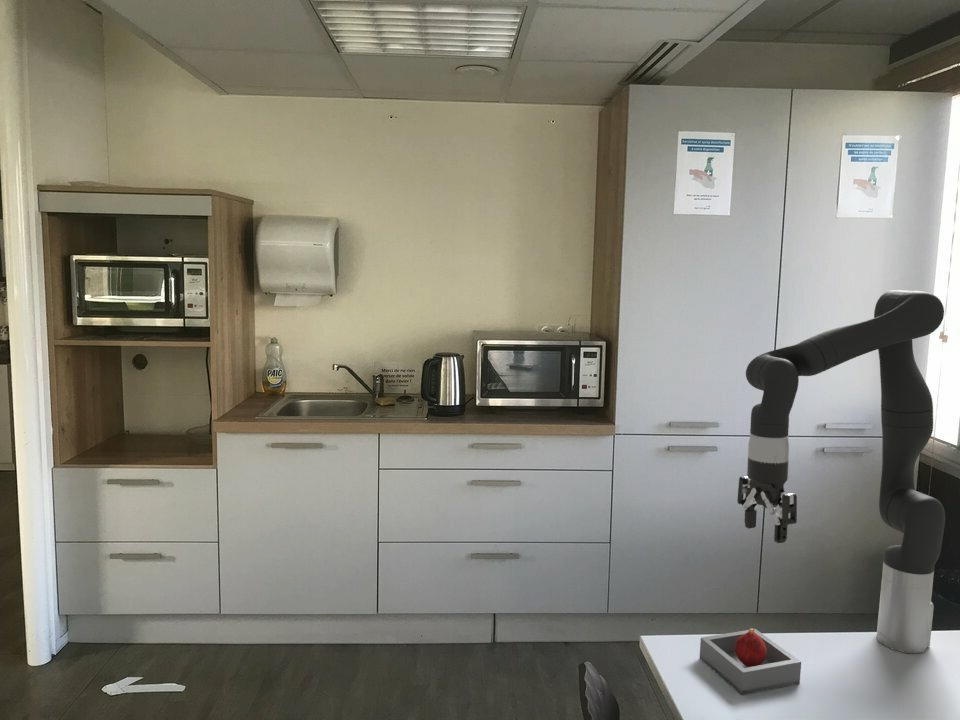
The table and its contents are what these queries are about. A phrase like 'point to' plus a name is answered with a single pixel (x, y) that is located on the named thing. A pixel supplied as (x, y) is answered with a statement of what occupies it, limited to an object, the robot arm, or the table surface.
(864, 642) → the table surface
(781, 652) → the box
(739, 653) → the pomegranate
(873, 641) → the table surface
